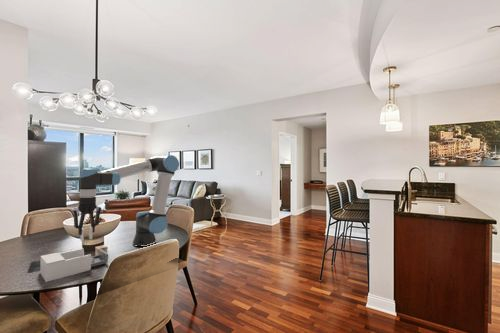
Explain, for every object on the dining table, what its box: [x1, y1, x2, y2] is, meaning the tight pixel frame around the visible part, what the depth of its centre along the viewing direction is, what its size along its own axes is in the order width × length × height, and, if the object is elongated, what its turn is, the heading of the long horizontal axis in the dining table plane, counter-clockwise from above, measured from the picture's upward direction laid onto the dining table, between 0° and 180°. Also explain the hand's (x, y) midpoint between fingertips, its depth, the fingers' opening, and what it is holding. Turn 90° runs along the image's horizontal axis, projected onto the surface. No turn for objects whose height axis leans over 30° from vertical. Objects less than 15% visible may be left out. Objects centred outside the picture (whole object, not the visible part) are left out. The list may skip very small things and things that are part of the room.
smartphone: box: [27, 260, 41, 274], centre depth 125 cm, size 8×1×15 cm
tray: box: [91, 249, 109, 268], centre depth 126 cm, size 17×11×5 cm
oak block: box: [94, 244, 108, 256], centre depth 143 cm, size 5×5×5 cm
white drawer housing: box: [39, 248, 92, 283], centre depth 119 cm, size 18×14×9 cm
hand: (86, 239), depth 126 cm, fingers open, 3 cm apart
